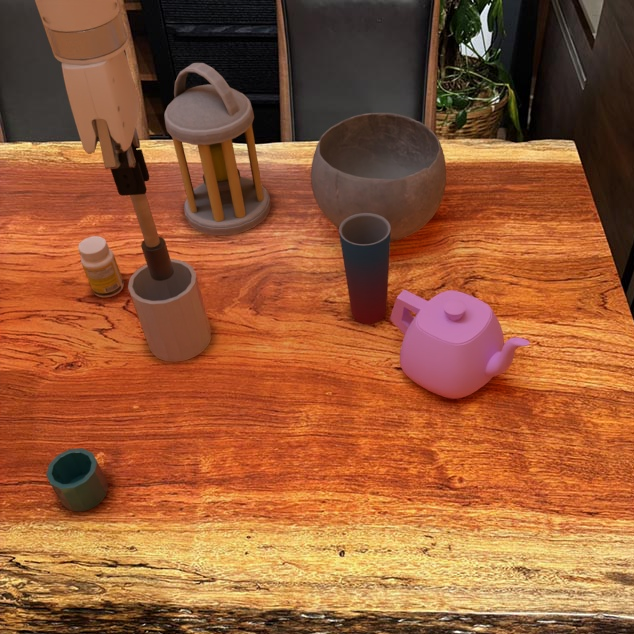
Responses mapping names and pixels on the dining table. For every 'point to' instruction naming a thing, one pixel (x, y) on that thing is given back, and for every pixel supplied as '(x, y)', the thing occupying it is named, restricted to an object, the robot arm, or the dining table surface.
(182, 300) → the grey pencil pot
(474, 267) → the dining table surface
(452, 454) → the dining table surface
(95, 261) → the supplement bottle
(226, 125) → the lantern
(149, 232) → the wooden handled tool
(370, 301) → the cup
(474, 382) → the teapot
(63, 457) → the holder
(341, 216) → the bowl
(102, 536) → the dining table surface
